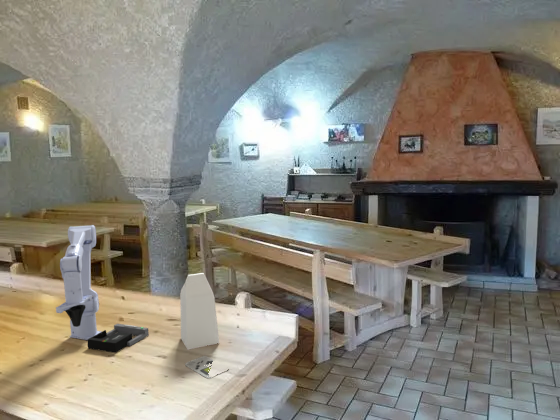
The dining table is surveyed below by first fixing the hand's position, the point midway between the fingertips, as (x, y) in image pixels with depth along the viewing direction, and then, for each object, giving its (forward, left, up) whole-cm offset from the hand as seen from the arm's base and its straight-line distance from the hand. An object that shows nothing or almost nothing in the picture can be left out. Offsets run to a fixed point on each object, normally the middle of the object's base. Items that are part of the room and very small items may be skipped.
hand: (76, 325), depth 168 cm
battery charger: (+6, +9, -11) cm, 16 cm away
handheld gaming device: (+50, +6, -11) cm, 52 cm away
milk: (+36, +24, -11) cm, 45 cm away
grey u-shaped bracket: (+6, +16, -10) cm, 20 cm away
